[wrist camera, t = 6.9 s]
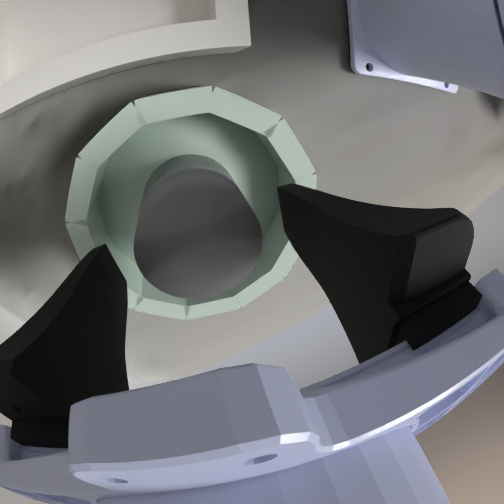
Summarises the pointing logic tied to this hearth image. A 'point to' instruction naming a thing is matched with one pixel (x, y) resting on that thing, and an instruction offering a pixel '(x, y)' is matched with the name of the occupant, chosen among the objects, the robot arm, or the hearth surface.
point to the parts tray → (106, 40)
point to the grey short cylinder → (195, 229)
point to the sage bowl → (176, 144)
